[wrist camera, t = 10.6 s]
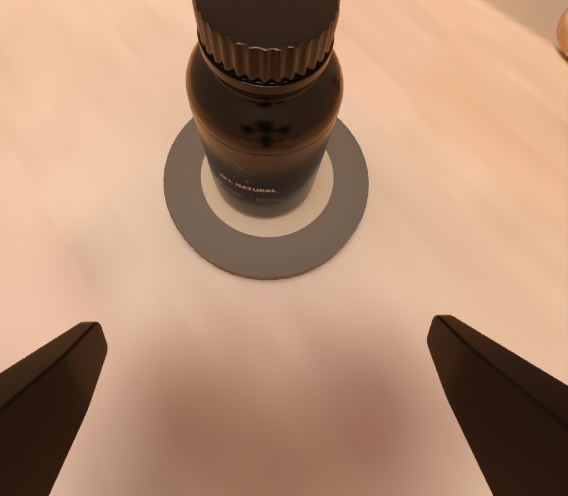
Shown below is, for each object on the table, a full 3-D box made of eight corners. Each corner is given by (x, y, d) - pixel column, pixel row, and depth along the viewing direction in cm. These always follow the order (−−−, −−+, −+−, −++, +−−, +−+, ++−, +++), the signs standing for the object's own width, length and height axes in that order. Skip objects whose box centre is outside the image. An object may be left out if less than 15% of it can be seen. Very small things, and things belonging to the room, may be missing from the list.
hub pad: (315, 315, 21) (320, 314, 19) (131, 225, 22) (120, 216, 20) (389, 149, 25) (398, 136, 23) (228, 78, 26) (226, 61, 24)
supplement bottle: (231, 234, 20) (182, 102, 9) (202, 144, 22) (130, -68, 10) (330, 204, 21) (405, 47, 10) (296, 119, 23) (326, -101, 11)
